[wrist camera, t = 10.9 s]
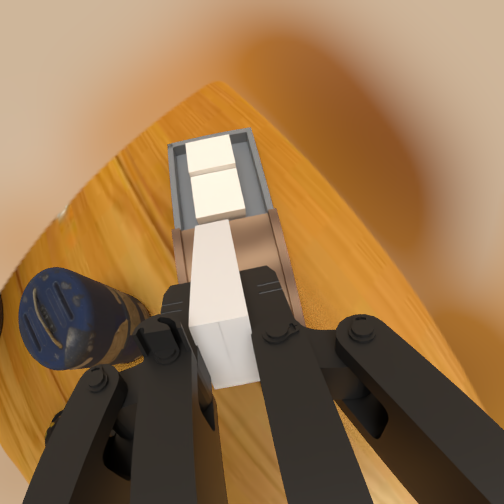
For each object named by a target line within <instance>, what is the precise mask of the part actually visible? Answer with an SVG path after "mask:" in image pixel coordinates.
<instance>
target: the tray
mask: <svg viewBox="0 0 504 504" xmlns="http://www.w3.org/2000/svg"><path fill="white" fill-rule="evenodd" d="M228 134H229V137H230V141H231V146H232V150H233V154H234V159H235V164H236V169H237V174H238V178H239V183H240V187H241V191H242V196H243V200H244V205H245V211H246V217H250V216H255V215H261V214H266V213H268V210H269V209H274V208H273V205H272V201H271V197H270V194H269V190H268V186H267V183H266V179H265V175H264V172H263V168H262V165H261V161H260V158H259V154H258V151H257V147H256V144H255V140H254V137H253V133H252V130H251V127H250V128H244V129H238V130H232V131H227V132H222V133H217V134H212V135H207V136H202V137H197V138H193V139H188V140H184V141H180V142H176V143H172V144H168V159H169V172H170V184H171V195H172V206H173V215H174V224H175V229H177V228H180V230H181V231H183V230H188V229H192V228H195V226H197V225H199V224H198V221H197V219H196V214H195V207H194V200H193V193H192V185H191V177H190V175H189V171H188V162H187V153H186V144H185V143H189V142H194V141H198V140H203V139H208V138H212V137H217V136H223V135H228Z"/></svg>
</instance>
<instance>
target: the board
mask: <svg viewBox="0 0 504 504" xmlns="http://www.w3.org/2000/svg"><path fill="white" fill-rule="evenodd" d="M229 225H230V230H231V235H232V240H233V244H234V249H235V254H236V259H237V264H238V269H239V271H242V270H246V269H251V268H256V267H261V266H265V265H267V266H268V267H270V268H271V269H272V270H274V271H275V272H276V275H277V277H278V280H279V282H280V284H281V287H282V289H283V292H284V294H285V297H286V299H287V301H288V304H289V306H290V309H291V311H292V314H293V316H294V318H295V319H296V320H297V321H298V322H299V323H300V324H301V325H303V326H305V327H306V325H305V320H304V316H303V312H302V308H301V304H300V299H299V295H298V291H297V287H296V283H295V279H294V275H293V271H292V267H291V263H290V259H289V255H288V251H287V247H286V243H285V240H284V236H283V232H282V228H281V224H280V221H279V217H278V213H277V209H276V208H274V209H269V210H268V213H266V214H261V215H255V216H250V217H245V218H240V219H235V220H230V221H229ZM194 233H195V228H192V229H188V230H183V231H181V230H180V228H177V229H172V237H173V245H174V253H175V261H176V268H177V276H178V282H179V284H183V283H188V282H191V271H192V257H193V244H194Z"/></svg>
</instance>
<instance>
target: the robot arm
mask: <svg viewBox="0 0 504 504" xmlns="http://www.w3.org/2000/svg"><path fill="white" fill-rule="evenodd" d="M2 321H3V308H2V300H1V295H0V334H1V329H2ZM132 337H133V339H134V341H135V343H136V344H137V346H138V348H139V350H140V351H141V353H142V355H143V357H144V361H143V362H142V363H140V364H138V365H136V366H134V367H132V368H129V369H126V370H124V371H121V372H118V371H117V370H116V368H115V367H114V366H112V365H109V364H99V365H96V366H93V367H91V368H90V369H89V370H87V371H86V372H85V373H84V374H83V376H82V377H81V378H80V380H79V382H78V384H77V385H76V387H75V389H74V391H73V393H72V395H71V397H70V398H69V400H68V402H67V404H66V406H65V408H64V410H63V412H62V414H61V416H60V418H59V420H58V422H57V424H56V426H55V428H54V430H53V432H52V434H51V436H50V438H49V441H48V443H47V445H46V447H45V449H44V452H43V454H42V456H41V458H40V461H39V463H38V465H37V468H36V470H35V472H34V475H33V477H32V480H31V482H30V485H29V487H28V490H27V492H26V495H25V498H24V500H23V504H228V500H227V493H226V486H225V478H224V470H223V462H222V453H221V444H220V435H219V425H218V415H217V404H216V401H215V398H214V396H213V394H212V385H211V382H212V384H213V386H214V389H220V388H226V387H231V386H237V385H242V384H247V383H252V382H257V381H260V382H261V387H262V391H263V396H264V401H265V405H266V410H267V414H268V419H269V423H270V428H271V432H272V437H273V441H274V446H275V450H276V454H277V459H278V463H279V467H280V472H281V476H282V480H283V484H284V489H285V493H286V497H287V501H288V504H373V501H372V498H371V496H370V493H369V490H368V488H367V485H366V482H365V480H364V477H363V475H362V472H361V469H360V467H359V464H358V462H357V459H356V457H355V454H354V451H353V449H352V446H351V444H350V441H349V439H348V436H347V434H346V431H345V429H344V426H343V424H342V421H341V419H340V416H339V414H338V411H337V409H336V406H335V404H334V401H335V402H336V403H337V404H338V406H339V407H340V408H341V410H342V411H343V412H344V413H345V415H346V416H347V417H348V418H349V420H350V421H351V422H352V423H353V425H354V426H355V427H356V428H357V430H358V431H359V432H360V433H361V435H362V436H363V437H364V438H365V440H366V441H367V442H368V443H369V445H370V446H371V447H372V448H373V449H374V451H375V452H376V453H377V454H378V456H379V457H380V458H381V459H382V460H383V462H384V463H385V464H386V465H387V467H388V468H389V469H390V470H391V471H392V473H393V474H394V475H395V476H396V477H397V479H398V480H399V481H400V482H401V483H402V485H403V486H404V487H405V488H406V489H407V490H408V492H409V493H410V494H411V495H412V496H413V497H414V499H415V500H416V501H417V502H418V503H419V504H504V430H503V429H502V428H501V427H500V426H499V425H498V424H497V423H496V422H495V421H494V420H493V419H491V418H490V417H489V416H488V415H487V414H486V413H485V412H484V411H483V410H482V409H481V408H480V407H479V406H478V405H477V404H475V403H474V402H473V401H472V400H471V399H470V398H469V397H468V396H467V395H466V394H465V393H463V392H462V391H461V390H460V389H459V388H458V387H457V386H456V385H455V384H454V383H452V382H451V381H450V380H449V379H448V378H447V377H446V376H445V375H443V374H442V373H441V372H440V371H439V370H438V369H437V368H436V367H434V366H433V365H432V364H431V363H430V362H429V361H428V360H427V359H425V358H424V357H423V356H422V355H421V354H420V353H419V352H417V351H416V350H415V349H414V348H413V347H412V346H410V345H409V344H408V343H407V342H406V341H405V340H404V339H402V338H401V337H400V336H399V335H398V334H397V333H395V332H394V331H393V330H392V329H391V328H389V327H388V326H387V325H386V324H385V323H384V322H382V321H381V320H379V319H378V318H376V317H374V316H370V315H366V314H359V315H353V316H350V317H346V318H345V319H344V320H342V321H341V322H340V323H339V325H338V327H337V328H336V330H314V329H310V328H307V327H305V326H303V325H301V324H300V323H299V322H298V321H297V320H296V319H295V318H294V316H293V314H292V311H291V309H290V306H289V304H288V301H287V299H286V297H285V294H284V292H283V289H282V287H281V284H280V282H279V280H278V277H277V275H276V272H275V271H274V270H272V269H271V268H270V267H268V266H267V265H265V266H261V267H256V268H251V269H246V270H242V271H239V269H238V264H237V259H236V254H235V249H234V244H233V240H232V235H231V230H230V225H229V220H228V219H226V220H221V221H216V222H212V223H207V224H202V225H197V226H195V233H194V244H193V257H192V271H191V282H188V283H183V284H178V285H172V286H170V287H169V289H168V290H167V291H166V293H165V294H164V297H163V302H162V308H161V314H158V315H155V316H152V317H149V318H147V319H146V320H144V321H142V322H141V323H140V324H139V325H138V326H137V327H136V328H135V329H134V331H133V333H132ZM333 400H334V401H333Z"/></svg>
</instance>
